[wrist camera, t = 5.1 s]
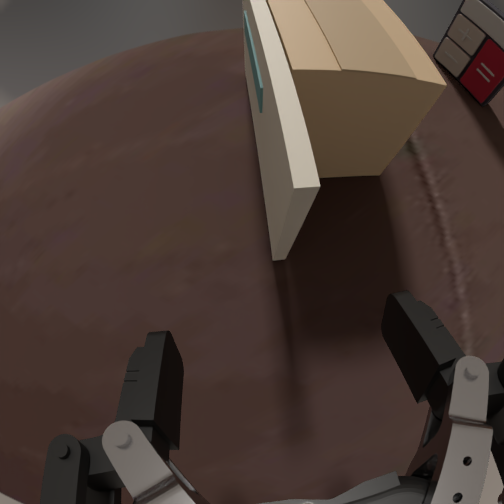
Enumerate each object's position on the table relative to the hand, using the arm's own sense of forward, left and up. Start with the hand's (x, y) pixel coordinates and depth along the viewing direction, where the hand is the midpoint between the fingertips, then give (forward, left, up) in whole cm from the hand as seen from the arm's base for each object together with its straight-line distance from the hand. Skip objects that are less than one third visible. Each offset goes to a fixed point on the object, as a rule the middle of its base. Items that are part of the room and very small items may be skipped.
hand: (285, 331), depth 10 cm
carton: (+20, -2, -13) cm, 24 cm away
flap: (+15, +3, -12) cm, 20 cm away
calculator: (+37, -25, -13) cm, 47 cm away
